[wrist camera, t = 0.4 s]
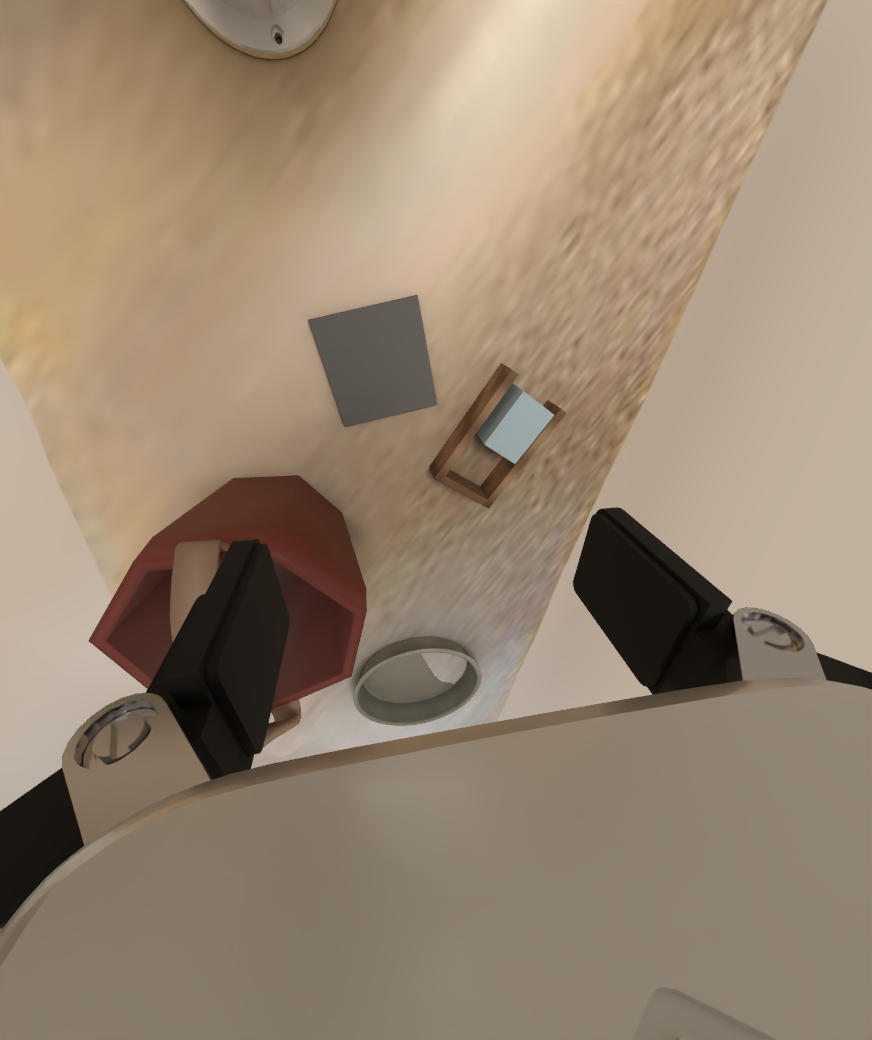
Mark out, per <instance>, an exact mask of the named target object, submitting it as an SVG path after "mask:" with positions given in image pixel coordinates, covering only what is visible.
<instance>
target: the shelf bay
mask: <svg viewBox="0 0 872 1040" xmlns="http://www.w3.org/2000/svg"><path fill="white" fill-rule="evenodd" d="M517 376H518V374H517V373H515V372H514V371H513V370H511V369H510V368H508V367H506V366H505V365H503V364H502V363H501V364H500V366H499V367H498V369H497V370H496V372H495V373H494V375H493V376H492V377H491V379H490V380H489V382H488V383H487V385H486V386H485V388H484V389H483V390H482V392H481V393H480V395H479V396H478V398H477V399H476V400H475V402H474V403H473V405H472V406H471V408H470V409H469V411H468V412H467V413H466V415H465V416H464V418H463V419H462V421H461V422H460V424H459V425H458V426H457V428H456V429H455V431H454V432H453V434H452V435H451V437H450V438H449V439H448V441H447V442H446V444H445V445H444V447H443V448H442V450H441V451H440V452H439V454H438V455H437V457H436V458H435V460H434V461H433V462H432V464H431V465H430V469H431V472H432V475H433V477H434V479H435V480H437V481H439V482H441V483H442V484H444V485H446V486H448V487H450V488H452V489H454V490H456V491H457V492H459V493H461V494H463V495H465V496H467V497H469V498H470V499H472V500H474V501H476V502H478V503H480V504H482V505H483V506H485V507H487V508H489V507H490V506H491V505H492V504H493V502H494V501H495V500H496V499H497V498H498V496H499V495H500V494H501V493H502V491H503V490H504V489H505V488H506V487H507V485H508V484H509V483H510V482H511V480H512V479H513V478H514V477H515V476H516V474H517V473H518V472H519V471H520V469H521V468H522V467H523V466H524V465H525V463H526V462H527V461H528V460H529V458H530V457H531V456H532V455H533V454H534V452H535V451H536V450H537V449H538V447H539V446H540V445H541V444H542V443H543V441H544V440H545V439H546V438H547V436H548V435H549V434H550V433H551V431H552V430H553V429H554V428H555V427H556V425H557V424H558V423H559V422H560V420H561V419H562V418H563V417H564V416H565V414H566V412H564V411H563V410H562V409H561V408H559V407H557V406H556V405H554V404H553V403H551V402H550V401H547V402H546V404H545V405H544V406H543V407H545V408H546V409H547V410H549V411H550V412H551V413H552V414H554V416H553V418H552V419H551V420H550V421H549V423H548V424H547V425H546V426H545V428H544V429H543V430H542V431H541V433H540V434H539V435H538V436H537V438H536V439H535V440H534V441H533V443H532V444H531V445H530V446H529V448H528V449H527V450H526V451H525V453H524V454H523V455H522V456H521V457H520V459H519V460H518V461H517V462H516V464H514V463H513V462H511V461H509V460H508V459H506V458H505V457H503V459H502V460H501V461H500V462H499V464H498V465H497V466H496V467H495V469H494V470H493V471H492V473H491V474H490V475H489V476H488V478H487V479H486V480H485V482H484V483H483V484H482V485H481V487H480V486H478V485H476V484H474V483H472V482H471V481H469V480H467V479H465V478H464V477H462V476H460V475H458V474H457V473H455V472H453V471H451V470H450V469H451V468H452V466H453V465H454V464H455V462H456V461H457V459H458V458H459V457H460V455H461V454H462V452H463V451H464V450H465V448H466V447H467V446H468V444H469V443H470V441H471V440H472V439H473V437H474V436H475V435H476V433H477V432H478V430H479V429H480V428H481V426H482V425H483V423H484V422H485V421H486V419H487V418H488V417H489V415H490V414H491V412H492V411H493V410H494V408H495V407H496V405H497V404H498V403H499V401H500V400H501V399H502V397H503V396H504V394H505V393H506V392H507V390H508V389H509V388H510V386H511V385H512V383H513V382H514V381H515V379H516V378H517Z"/></svg>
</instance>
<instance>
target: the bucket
mask: <svg viewBox="0 0 872 1040" xmlns="http://www.w3.org/2000/svg"><path fill="white" fill-rule="evenodd" d="M249 539H258V540H259V541H260V543H261V544H267V545H268V548H269V551H270V554H271V557H272V561H273V564H274V567H275V571H276V574H277V577H278V581H279V584H280V587H281V591H282V594H283V597H284V601H285V604H286V607H287V611H288V614H289V630H288V635H287V639H286V644H285V649H284V653H283V658H282V662H281V667H280V672H279V676H278V681H277V686H276V690H275V695H274V699H273V704H272V709H271V713H272V715H273V716H274V719H275V722H273V723H268V727H267V732H266V736H265V741H264V745H263V747H265V746H266V745H267V744H268V743H270V742H271V741H272V740H274V739H275V738H277V737H278V736H280V735H282V734H283V733H285V732H287V731H288V730H290V729H291V728H293V727H294V726H296V725H298V724H299V722H300V719H301V707H300V702H299V699H300V698H303V697H305V696H307V695H309V694H312V693H314V692H316V691H319V690H321V689H323V688H326V687H328V686H330V685H333V684H335V683H337V682H340V681H342V680H344V679H346V678H349V677H351V676H352V672H353V668H354V663H355V659H356V655H357V650H358V646H359V642H360V638H361V633H362V629H363V625H364V620H365V616H366V612H367V606H366V587H365V584H364V581H363V577H362V574H361V571H360V568H359V565H358V562H357V559H356V555H355V552H354V549H353V546H352V543H351V540H350V537H349V533H348V530H347V527H346V524H345V521H344V518H343V515H342V512H340V511H339V510H338V509H337V508H336V507H335V506H333V505H332V504H331V503H330V502H329V501H328V500H326V499H325V498H324V497H323V496H322V495H321V494H319V493H318V492H317V491H316V490H315V489H314V488H312V487H311V486H310V485H309V484H308V483H307V482H305V481H304V480H303V479H302V478H301V477H300V476H277V477H253V478H233V479H232V480H231V481H229V482H228V483H226V484H225V485H224V486H222V487H221V488H220V489H218V490H217V491H215V492H214V493H213V494H211V495H210V496H209V497H207V498H206V499H204V500H203V501H202V502H200V503H199V504H198V505H196V506H195V507H193V508H192V509H191V510H189V511H188V512H187V513H185V514H184V515H182V516H181V517H180V518H178V519H177V520H176V521H174V522H173V523H171V524H170V525H169V526H167V527H166V528H165V529H163V530H162V531H160V532H159V533H158V534H156V535H155V536H154V537H152V539H151V540H150V541H149V542H148V544H147V545H146V546H145V547H144V549H143V550H142V551H141V553H140V554H139V555H138V556H137V558H136V559H135V560H134V561H133V563H132V565H131V567H130V569H129V570H128V572H127V574H126V576H125V577H124V579H123V581H122V583H121V584H120V586H119V588H118V590H117V591H116V593H115V595H114V597H113V599H112V600H111V602H110V604H109V606H108V608H107V609H106V611H105V613H104V614H103V616H102V618H101V620H100V622H99V623H98V625H97V627H96V629H95V630H94V632H93V634H92V636H91V637H90V639H89V642H90V643H92V644H93V645H94V646H96V647H97V648H98V649H99V650H100V651H102V652H103V653H104V654H105V655H107V656H108V657H109V658H110V659H111V660H113V661H114V662H115V663H116V664H118V665H119V666H120V667H121V668H123V669H124V670H125V671H126V672H127V673H129V674H130V675H131V676H132V677H134V678H135V679H136V680H137V681H138V682H140V683H141V684H142V685H143V686H145V687H146V688H147V689H148V688H149V686H150V684H151V682H152V680H153V678H154V676H155V675H156V673H157V671H158V669H159V667H160V665H161V663H162V662H163V660H164V658H165V656H166V654H167V652H168V650H169V649H170V647H171V645H172V643H173V641H174V639H175V637H176V636H177V634H178V632H179V630H180V628H181V626H182V624H183V623H184V621H185V619H186V617H187V615H188V613H189V611H190V610H191V608H192V606H193V604H194V602H195V601H196V599H197V598H198V597H199V596H200V595H202V594H205V593H206V591H207V589H208V587H209V585H210V584H211V582H212V580H213V578H214V576H215V574H216V572H217V570H218V568H219V566H220V564H221V562H222V560H223V558H224V556H225V555H226V553H227V551H228V549H229V547H230V545H231V543H232V542H233V541H238V540H249Z"/></svg>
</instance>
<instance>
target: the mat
mask: <svg viewBox="0 0 872 1040" xmlns="http://www.w3.org/2000/svg"><path fill="white" fill-rule="evenodd" d="M308 321H309V324H310V327H311V330H312V333H313V336H314V339H315V342H316V345H317V348H318V350H319V353H320V356H321V359H322V362H323V365H324V368H325V371H326V374H327V377H328V379H329V382H330V385H331V388H332V391H333V394H334V397H335V400H336V403H337V406H338V408H339V411H340V414H341V417H342V420H343V423H344V426H345V427H347V426H351V425H355V424H359V423H364V422H368V421H372V420H376V419H380V418H384V417H388V416H392V415H397V414H401V413H405V412H409V411H413V410H417V409H421V408H425V407H429V406H434V405H437V401H436V395H435V390H434V384H433V379H432V373H431V368H430V362H429V357H428V351H427V345H426V340H425V334H424V329H423V323H422V318H421V312H420V307H419V301H418V295H415V296H410V297H406V298H402V299H397V300H393V301H389V302H384V303H380V304H375V305H371V306H367V307H362V308H358V309H354V310H349V311H345V312H340V313H336V314H332V315H327V316H323V317H319V318H314V319H310V320H308Z"/></svg>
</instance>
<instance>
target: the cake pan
mask: <svg viewBox="0 0 872 1040" xmlns="http://www.w3.org/2000/svg"><path fill="white" fill-rule="evenodd" d="M431 652H438V653H448V654H453V655H456V656H459V657H462V658H464V659H465V660H467V665H466V669H465V671H464V673H463V675H462V676H461V678H460V679H459V680H458V681H457V682H456V683H455V684H452V683H447V682H441V681H440V680H439V679H437V677H435V676H434V675H433V673H432V671H431V670H430V668H429V667H428V665H427V663H426V662H425V660H424V659H423V657H422V655H421V653H431ZM480 683H481V671H480V668H479V666H478V664H477V663H476V662H475V661H474V660H473V659H472V658H471V657H469V656H467V655H466V653H465V651H464V650H463V649H462V648H461V647H460V646H459V645H457V644H456V643H454V642H452V641H450V640H447V639H443V638H437V637H417V638H411V639H406V640H402V641H399V642H396V643H394V644H391V645H389V646H387V647H385V648H384V649H382V650H380V651H379V652H377V653H376V654H375V655H374V656H373V657H372V658H371V659H370V660H369V661H368V662H367V664H366V665H365V667H364V670H363V673H362V677H361V679H360V680H359V682H358V683H357V685H356V687H355V690H354V695H353V699H354V704H355V706H356V708H357V710H358V711H359V712H360V713H361V714H362V715H363V716H365V717H366V718H368V719H370V720H372V721H375V722H377V723H381V724H386V725H395V726H405V725H416V724H421V723H426V722H430V721H433V720H436V719H439V718H442V717H444V716H446V715H448V714H450V713H452V712H454V711H456V710H457V709H459V708H461V707H462V706H463V705H465V704H466V703H467V702H468V701H469V700H470V699H471V698H472V697H473V696H474V695H475V693H476V692H477V690H478V688H479V686H480Z"/></svg>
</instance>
